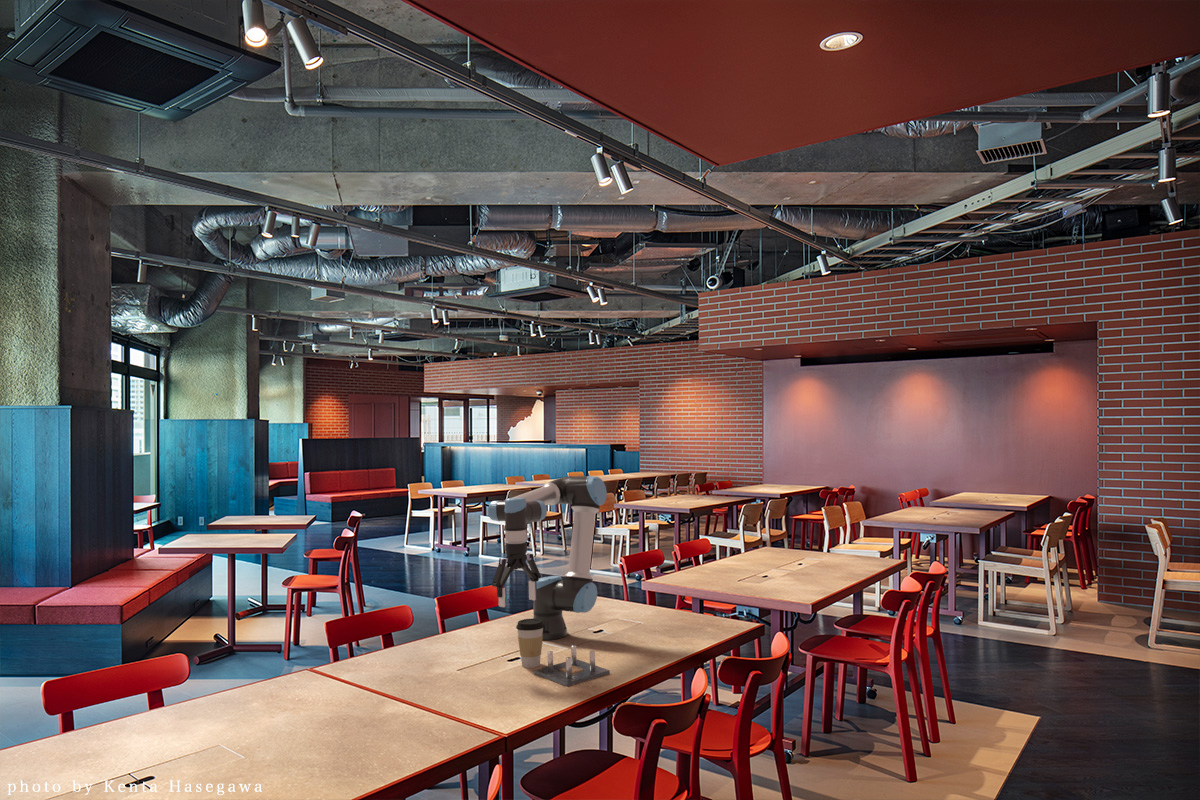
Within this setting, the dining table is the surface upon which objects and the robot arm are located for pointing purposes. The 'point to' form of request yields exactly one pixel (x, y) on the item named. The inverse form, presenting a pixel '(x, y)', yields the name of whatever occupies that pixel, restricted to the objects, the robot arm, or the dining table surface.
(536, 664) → the coffee cup
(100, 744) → the dining table surface
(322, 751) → the dining table surface
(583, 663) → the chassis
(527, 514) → the robot arm
